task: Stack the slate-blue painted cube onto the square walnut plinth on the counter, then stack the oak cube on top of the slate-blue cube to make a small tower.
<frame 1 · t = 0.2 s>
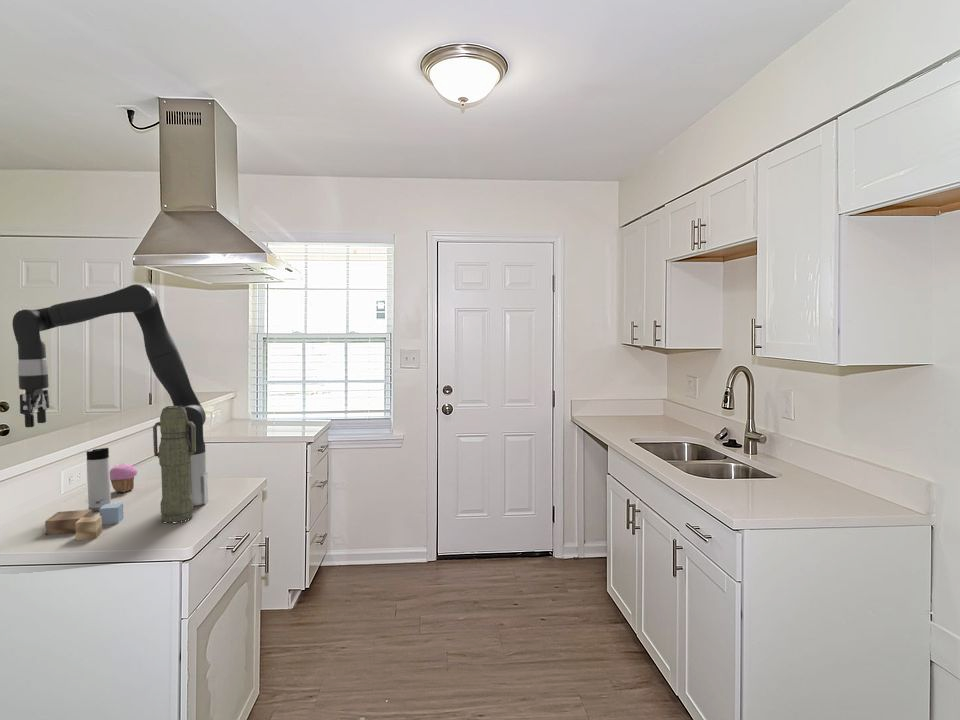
hand: (36, 424, 193), 29 cm above the countertop, tool pointing down, fingers open, 8 cm apart
walnut plinth: (69, 528, 181), on the countertop
cupcake: (123, 491, 222), on the countertop
oak block: (89, 536, 175), on the countertop
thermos: (177, 519, 190), on the countertop
slate block: (112, 521, 188), on the countertop
travel mug: (100, 508, 201), on the countertop
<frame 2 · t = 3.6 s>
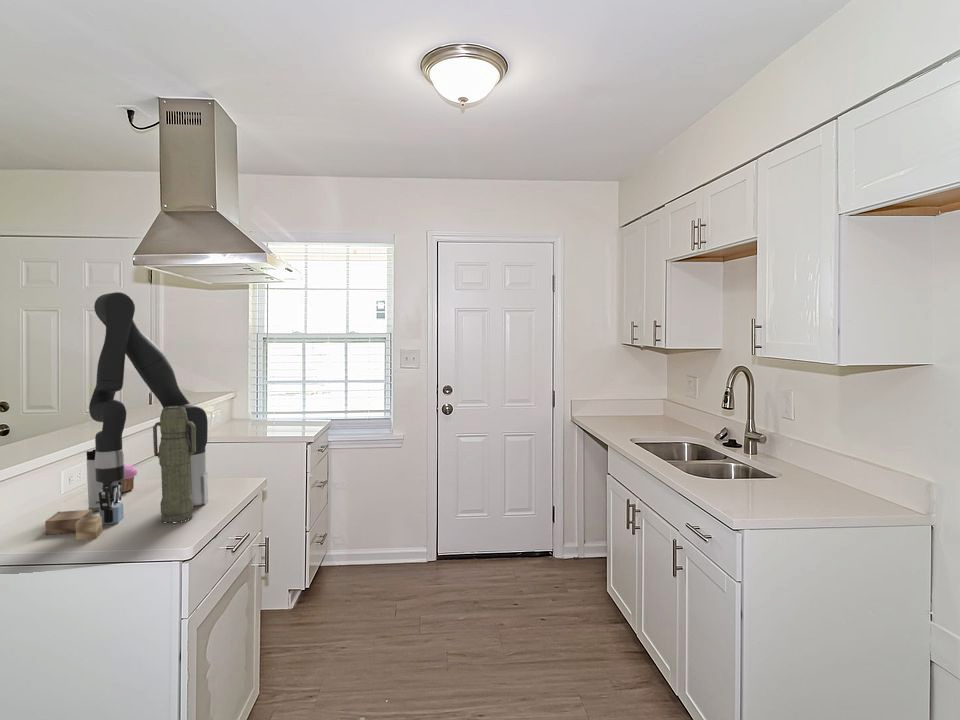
hand: (111, 519, 188), 1 cm above the countertop, tool pointing down, fingers closed on slate block, 5 cm apart
slate block: (112, 521, 188), on the countertop, touching gripper
everything else where it was.
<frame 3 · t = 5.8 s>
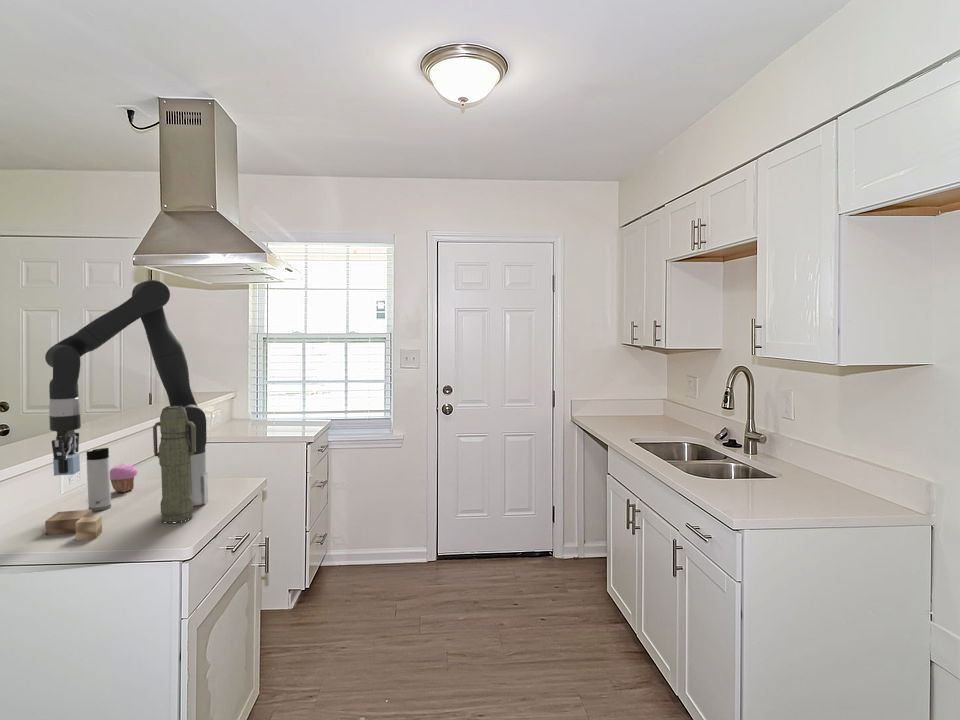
hand: (67, 470, 180), 17 cm above the countertop, tool pointing down, fingers closed on slate block, 5 cm apart
slate block: (67, 473, 180), point 17 cm above the countertop, touching gripper
everything else where it was.
when the fingers open (6 cm above the countertop, at t = 8.3 s): slate block drops 1 cm, resting on walnut plinth.
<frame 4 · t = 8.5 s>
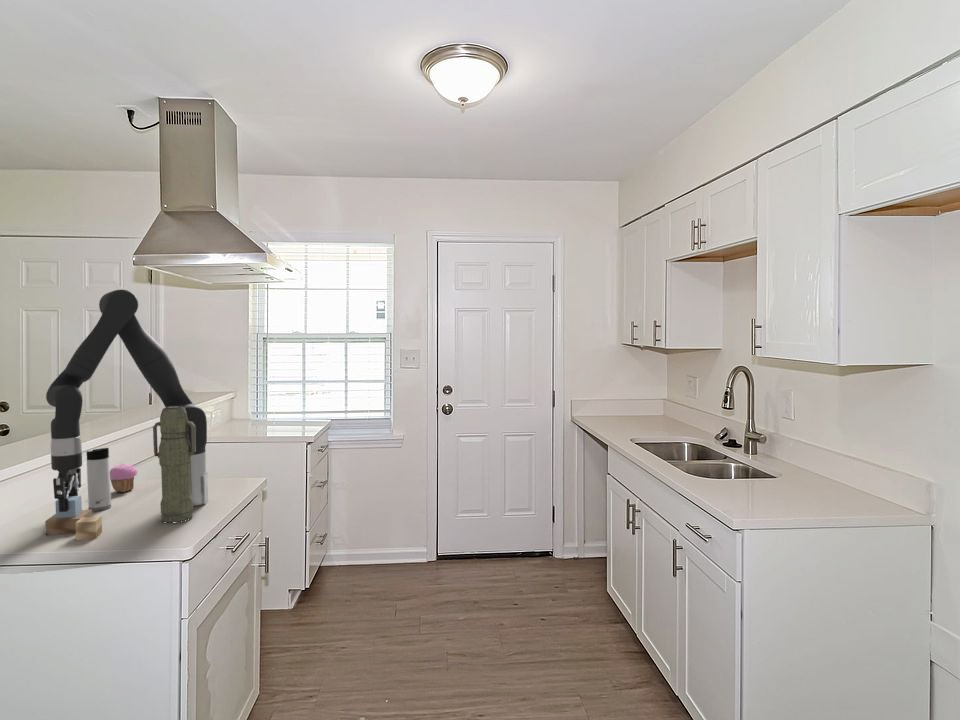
hand: (68, 507, 181), 6 cm above the countertop, tool pointing down, fingers open, 6 cm apart
slate block: (69, 515, 181), point 4 cm above the countertop, touching walnut plinth
everything else where it was.
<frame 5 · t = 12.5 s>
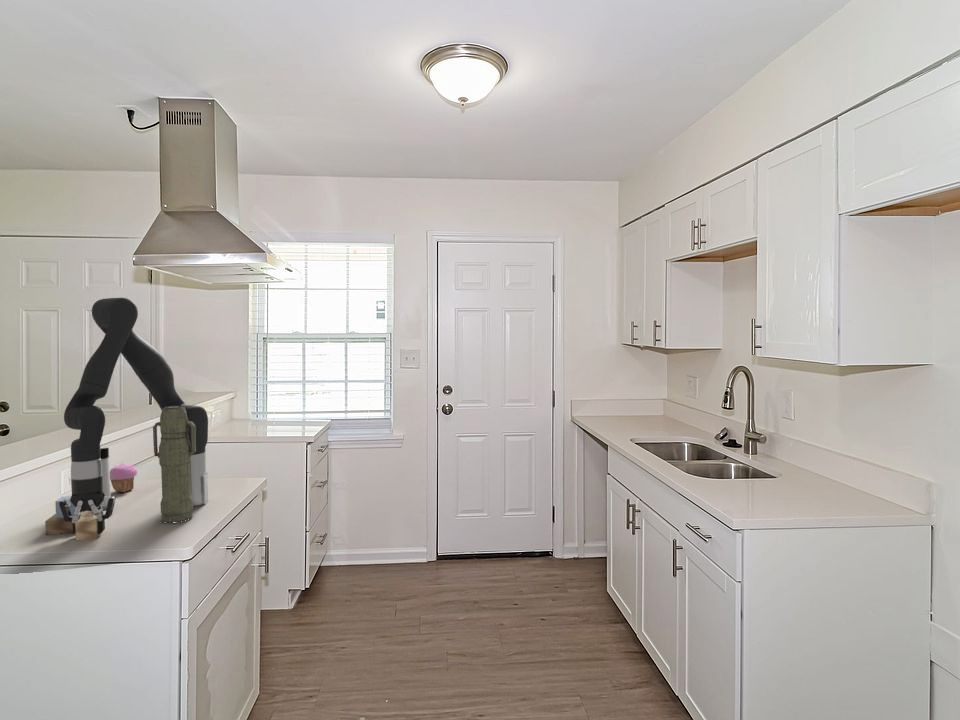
hand: (89, 533, 175), 1 cm above the countertop, tool pointing down, fingers closed on oak block, 5 cm apart
oak block: (89, 536, 175), on the countertop, touching gripper
everything else where it was.
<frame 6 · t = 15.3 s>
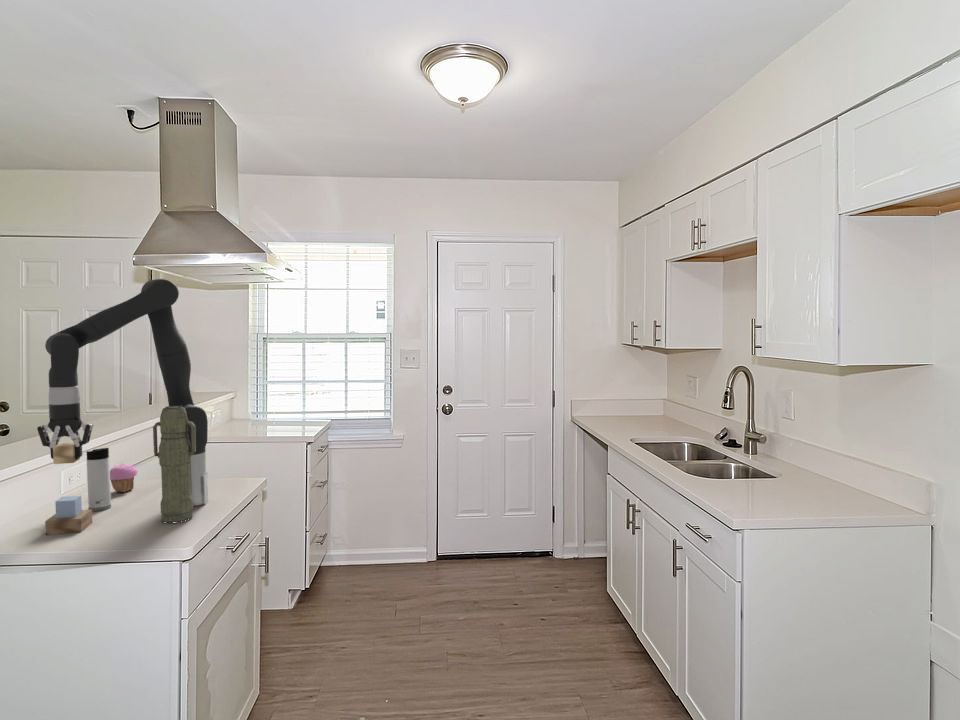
hand: (66, 459, 180), 21 cm above the countertop, tool pointing down, fingers closed on oak block, 5 cm apart
oak block: (66, 461, 180), point 20 cm above the countertop, touching gripper
everything else where it was.
when the fingers open (11 cm above the countertop, at t = 17.9 s): oak block stays where it is, resting on slate block.
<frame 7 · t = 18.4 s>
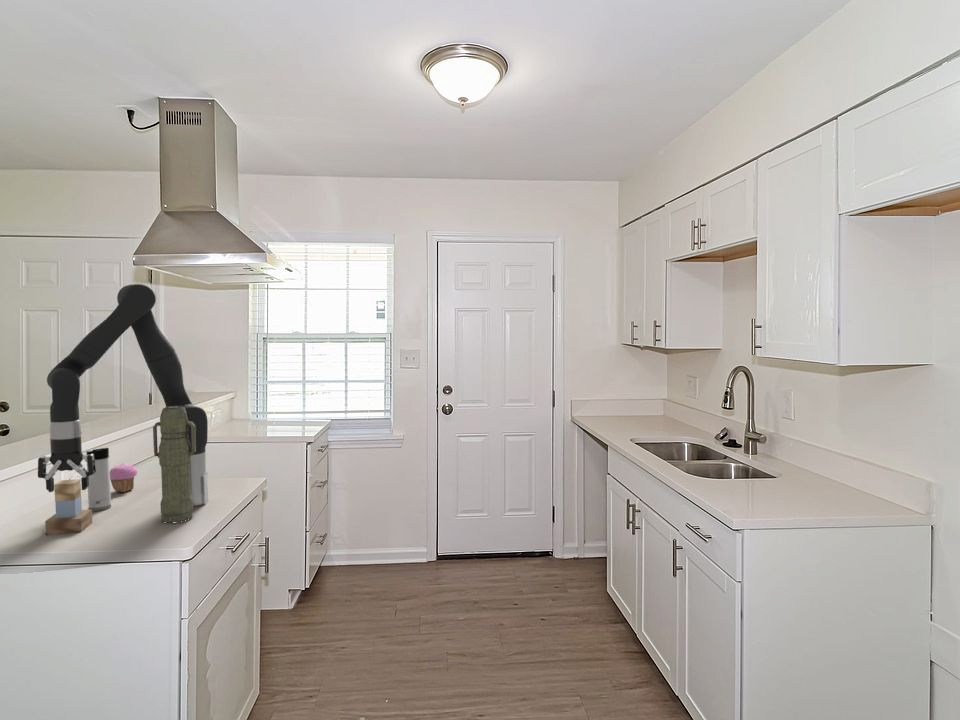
hand: (68, 490, 181), 11 cm above the countertop, tool pointing down, fingers open, 8 cm apart
oak block: (68, 498, 181), point 9 cm above the countertop, touching slate block
slate block: (69, 515, 181), point 4 cm above the countertop, touching oak block, walnut plinth
everything else where it was.
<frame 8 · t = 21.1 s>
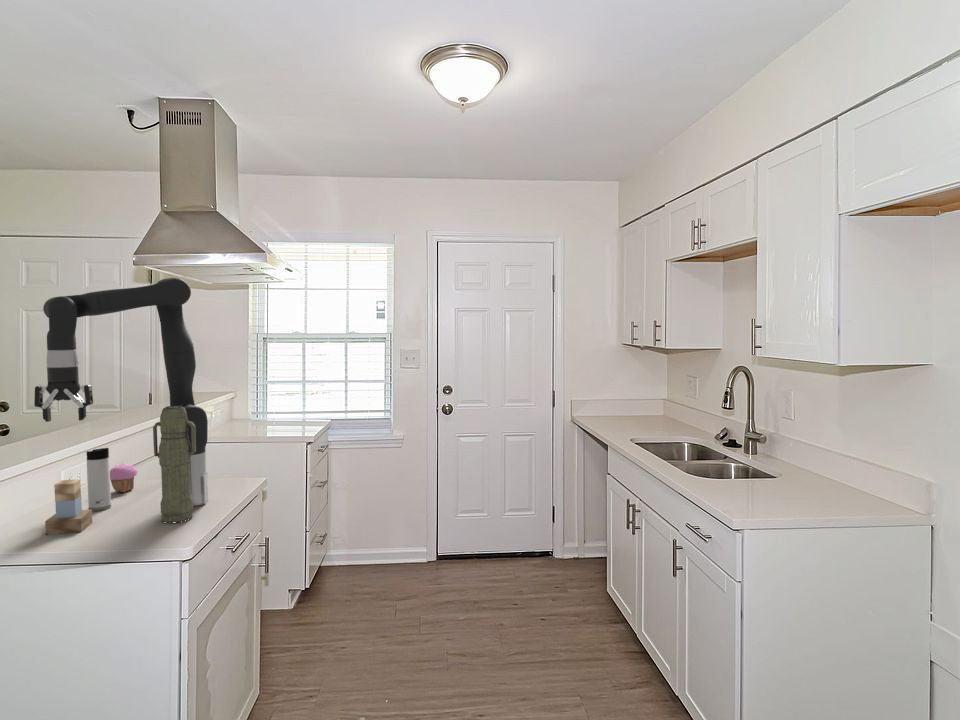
hand: (65, 420, 179), 32 cm above the countertop, tool pointing down, fingers open, 8 cm apart
nothing on the countertop moved.
at the end: slate block 0.0 cm off-centre on the walnut plinth, point 4.0 cm above the walnut plinth's base; oak block 0.0 cm off-centre on the slate block, point 5.0 cm above the slate block's base; the gripper is holding nothing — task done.
